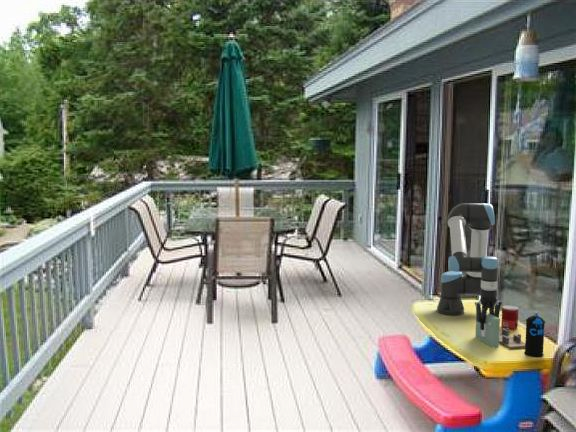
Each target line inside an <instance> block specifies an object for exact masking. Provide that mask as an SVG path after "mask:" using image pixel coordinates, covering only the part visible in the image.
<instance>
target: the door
mask: <svg viewBox="0 0 576 432" xmlns="http://www.w3.org/2000/svg"><path fill="white" fill-rule="evenodd" d="M481 312H482V309H481ZM500 321H501V318H500V317H499V318H498V317H496V316H494V315H492V314H490V313H489V312H488V311H487V313H486V319H485V324H486V337H483V336H482V335H481V331H482V330H481V329H480V323H479V322H478V321H477V318H476V317H475V338H476V339H478V340H480V341H481V342H482V343H485V344H486V345H488V346H489V345H490V347H491V348H493V347H495V348H499V347H500V343H499V330H500V327H501V325H500Z"/></svg>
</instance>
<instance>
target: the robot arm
mask: <svg viewBox="0 0 576 432" xmlns="http://www.w3.org/2000/svg"><path fill="white" fill-rule="evenodd" d="M495 220H496V219H495V211H494V207H493V205H492V204H491V203H484V202H483V203H482V202H481V203H475V202H474V203H473V202H472V203H471V202H470V203H468V202H465V203H464V202H463V203H462V202H461V203H459V204H457V205H455V206H454V207H453V208H452V209H451V210H450V212H449V213H448V216H447V226H448V228H449V233H450V234H449V235H450V247H451V249H450V250H451V256H448V261H447V263H448V271H446V272H443V273H442V274H441V277H440V298H439V301H438V304H437V306H436V312H437V311H438V312H437V313H439V314H442V315H445V316H446V315H447V316H461V315H464V313H465V307H464V303H463V299H462V295H463V296H479V297H480V299H479V300H478V301H475V302H474V305H475V310H476V311H475V312H476V313H475V319H476V318H477V321H478V322H479V323H480V329H481V330H482V331H481V335H482V336H483V337H486V324H485V319H486V313H487V312H488V311H489V312H488V313H490V314H492V315H494V316H496V317H498V318H500V311H501V310H500V309H501V306H502V301H500V300H498V299H497V294H498V290H497V289H498V274H499V269H498V268H499V259H498V258H497V257H495V256H488V255H487V252H488V251H487V250H488V249H487V248H488V236H489V232H490V230H491V229H492V226H494V225H495ZM466 225H468V227H469V229H470V230H471V233H470V234H471V236H470V237H471V238H470V239H471V240H470V254H469V256H468V250H467V240H466V229H465V228H466V227H465V226H466ZM463 273H466V274H463ZM481 310H482V312H481Z"/></svg>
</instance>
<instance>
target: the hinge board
mask: <svg viewBox="0 0 576 432" xmlns="http://www.w3.org/2000/svg"><path fill="white" fill-rule="evenodd" d="M499 345H502V346H503V347H505V348H506V349H509V350H518V349H525V342H524V341H522V334H520V333H518V334H513V336H512V335H511V334H510V330H509V328H506V329H504V328H503V327H502V328H501V330H500V329H499Z"/></svg>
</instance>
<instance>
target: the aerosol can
mask: <svg viewBox="0 0 576 432" xmlns="http://www.w3.org/2000/svg"><path fill="white" fill-rule="evenodd" d="M525 321H526V322H525V324H526V325H525V342H524V343H525V348H524V351H523V352H524V355H526V356H528V357H531V356H532V358H541V357H543V356H545V355H544V341H545V324H546V321H545V320H544V319H543V317H541V316H539V312H538V311H533V314H532V315H531V316H527V318H526V319H525Z"/></svg>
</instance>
